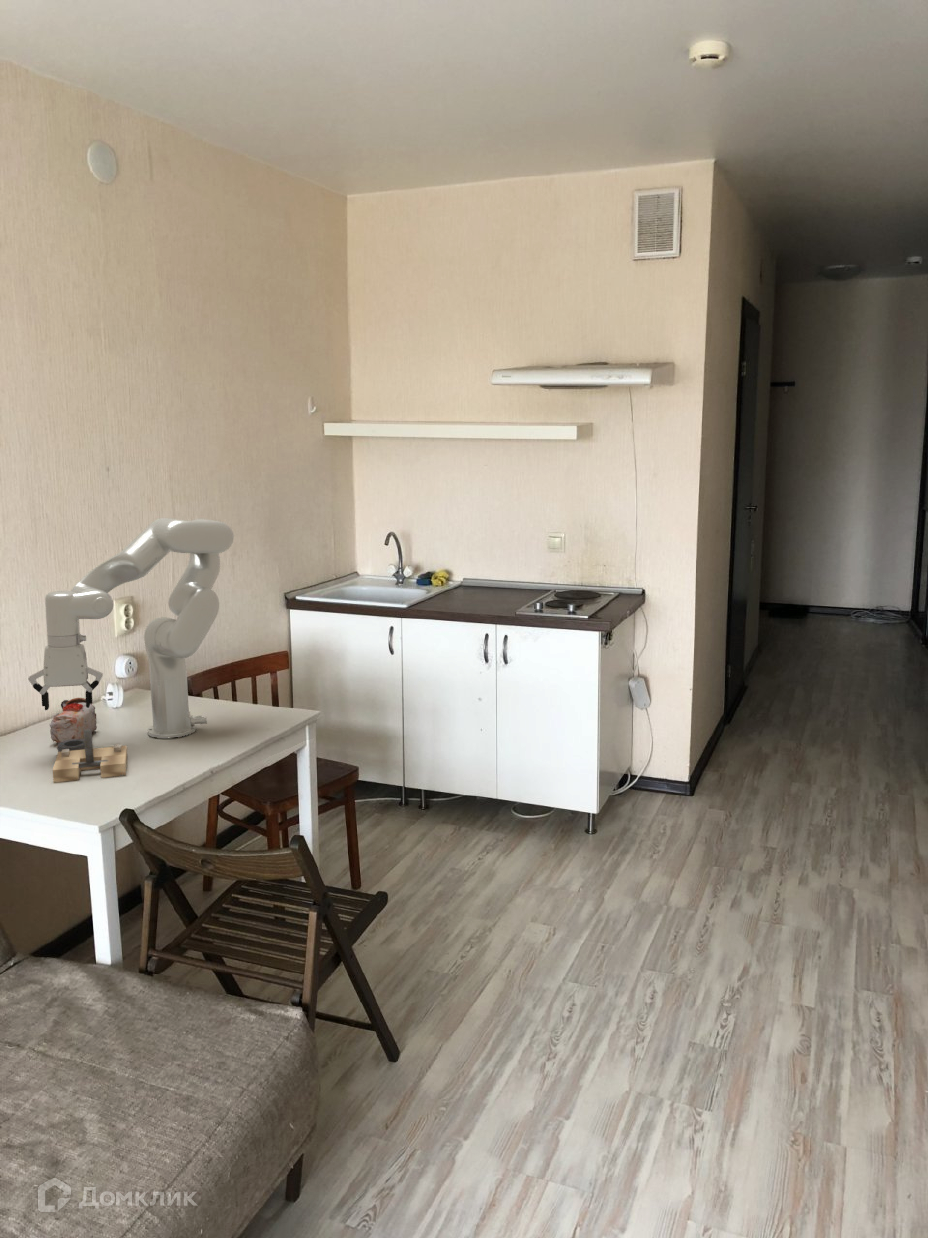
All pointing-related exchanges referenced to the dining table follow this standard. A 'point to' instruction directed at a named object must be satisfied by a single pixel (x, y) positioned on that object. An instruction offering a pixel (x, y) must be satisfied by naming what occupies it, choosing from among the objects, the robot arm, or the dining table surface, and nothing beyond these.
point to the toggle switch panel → (90, 760)
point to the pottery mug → (77, 700)
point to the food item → (72, 722)
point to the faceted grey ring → (71, 745)
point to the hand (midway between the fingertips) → (67, 707)
